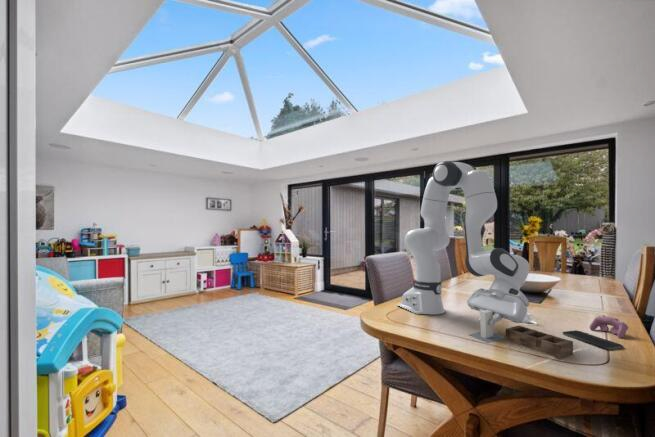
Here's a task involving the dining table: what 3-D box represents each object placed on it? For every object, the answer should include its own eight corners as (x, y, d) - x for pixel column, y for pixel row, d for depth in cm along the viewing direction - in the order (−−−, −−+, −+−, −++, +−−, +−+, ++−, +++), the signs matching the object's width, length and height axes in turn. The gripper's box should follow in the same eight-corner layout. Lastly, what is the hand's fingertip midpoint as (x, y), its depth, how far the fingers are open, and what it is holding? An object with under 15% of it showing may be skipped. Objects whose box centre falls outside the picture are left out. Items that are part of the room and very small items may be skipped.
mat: (467, 336, 108) (467, 334, 108) (486, 331, 112) (485, 330, 112) (487, 343, 101) (487, 342, 101) (506, 338, 105) (506, 337, 105)
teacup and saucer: (509, 322, 124) (509, 312, 124) (515, 318, 129) (515, 309, 129) (534, 328, 117) (534, 317, 117) (539, 323, 123) (539, 313, 123)
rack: (505, 340, 104) (505, 328, 104) (519, 336, 107) (518, 325, 107) (559, 359, 89) (559, 345, 89) (573, 354, 92) (572, 341, 93)
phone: (607, 348, 95) (560, 331, 110) (607, 351, 95) (560, 335, 110) (625, 345, 97) (577, 330, 111) (625, 349, 97) (577, 333, 111)
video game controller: (627, 341, 106) (631, 323, 107) (620, 337, 105) (625, 318, 106) (593, 332, 115) (598, 315, 116) (587, 328, 114) (591, 311, 115)
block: (480, 336, 107) (480, 311, 107) (488, 334, 108) (487, 309, 109) (485, 338, 105) (485, 312, 105) (493, 336, 107) (492, 311, 107)
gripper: (473, 282, 119) (457, 310, 115) (526, 293, 101) (508, 326, 97) (481, 292, 121) (465, 320, 117) (534, 304, 103) (517, 337, 98)
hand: (485, 323), depth 107 cm, fingers open, 2 cm apart
